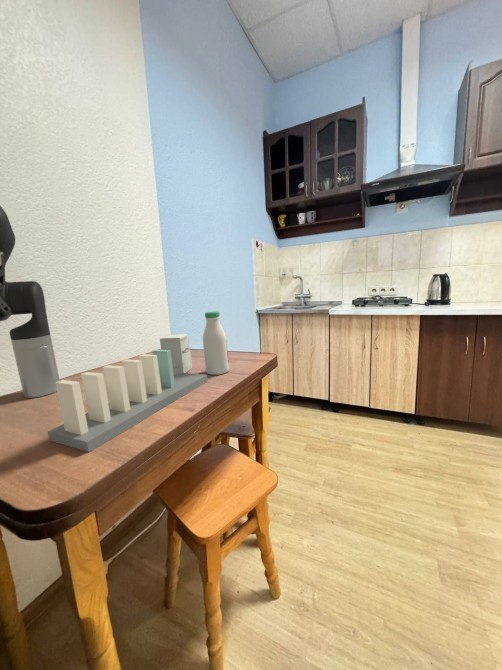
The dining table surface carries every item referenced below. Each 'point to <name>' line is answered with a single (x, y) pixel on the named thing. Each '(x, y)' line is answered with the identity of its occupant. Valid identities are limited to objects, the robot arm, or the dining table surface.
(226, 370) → the milk bottle
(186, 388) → the board
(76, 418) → the domino
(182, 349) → the supplement box
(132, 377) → the domino
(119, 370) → the domino
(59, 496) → the dining table surface
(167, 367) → the domino
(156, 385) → the domino
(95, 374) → the domino
